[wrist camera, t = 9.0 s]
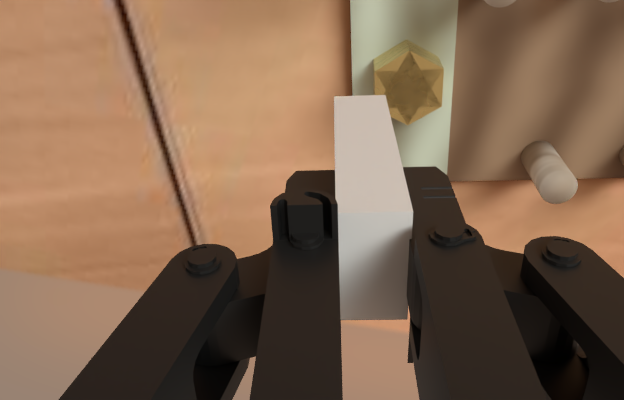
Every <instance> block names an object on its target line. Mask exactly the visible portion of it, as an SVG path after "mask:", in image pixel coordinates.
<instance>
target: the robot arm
mask: <svg viewBox="0 0 624 400" xmlns="http://www.w3.org/2000/svg"><path fill="white" fill-rule="evenodd" d="M334 132H335V170H318V171H296V172H295V173H294V174H293V175H292V176H291V177H290V178H289V179H288V180H287V183H286V190H285V193H282V194H280V195H279V196H278V197H276V198H275V199H274V200H273V201H272V203H271V205H270V209H271V220H272V232H273V246H271V247H270V248H268V249H267V250H265V251H263V252H261V253H259V254H256V255H253V256H249V257H245V258H240V259H237V258H236V256H235V253H234V252H233V251H232V250H230V249H229V248H227V247H225V246H221V245H217V244H202V245H197V246H193V247H190V248H188V249H185V250H183V251H181V252H179V253H178V254H177V255H176V256H175V257H174V258H172V259H171V261H170V262H169V263H168V264H167V266H166V267H165V268H164V269H163V271H162V272H161V273H160V274H159V276H158V277H157V278H156V279H155V280H154V282H153V283H152V284H151V285H150V287H149V288H148V289H147V290H146V292H145V293H144V294H143V296H142V297H141V298H140V299H139V300H138V302H137V303H136V304H135V305H134V307H133V308H132V309H131V310H130V312H129V313H128V314H127V315H126V317H125V318H124V319H123V320H122V322H121V323H120V324H119V325H118V326H117V328H116V329H115V330H114V331H113V333H112V334H111V335H110V336H109V338H108V339H107V340H106V341H105V343H104V344H103V345H102V346H101V348H100V349H99V350H98V352H97V353H96V354H95V355H94V356H93V358H92V359H91V360H90V361H89V363H88V364H87V365H86V367H85V368H84V369H83V370H82V371H81V373H80V374H79V375H78V376H77V378H76V379H75V380H74V381H73V383H72V384H71V385H70V386H69V387H68V389H67V390H66V391H65V392H64V394H63V395H62V396H61V397H60V399H59V400H232V399H233V397H234V395H235V393H236V390H237V388H238V386H239V384H240V382H241V380H242V378H243V376H244V374H245V372H246V370H247V368H248V364H249V359H250V358H251V357H255V356H256V361H255V368H254V374H253V381H252V388H251V394H250V400H342V399H343V398H342V363H341V362H342V360H341V320H397V319H407V315H408V306H409V312H410V332H409V348H408V363H413V362H414V368H415V375H416V380H417V387H418V392H419V399H420V400H624V278H623V277H622V276H621V275H620V274H618V273H617V272H616V271H615V270H614V269H613V268H612V267H611V266H609V265H608V264H607V263H606V262H605V261H604V260H603V259H602V258H601V257H599V256H598V255H597V254H596V253H595V252H594V251H593V250H591V249H590V248H588V247H587V246H585V245H584V244H582V243H579V242H577V241H574V240H571V239H569V238H564V237H556V236H550V237H540V238H537V239H533V240H531V241H530V242H529V243H528V244H527V245H525V250H524V254H520V253H515V252H509V251H504V250H499V249H495V248H492V247H490V246H487V245H485V244H484V241H483V239H482V236H481V235H480V234H479V232H478V231H477V230H476V229H474V228H473V227H471V226H469V225H468V224H466V223H465V220H464V217H463V215H462V212H461V210H460V207H459V204H458V202H457V199H456V198H455V194H454V191H453V189H452V186H451V183H450V180H449V178H448V176H447V175H446V174H445V173H444V172H442V171H441V170H440V169H439V168H437V167H436V166H430V167H403V166H402V162H401V158H400V154H399V150H398V146H397V141H396V137H395V133H394V129H393V125H392V120H391V116H390V112H389V108H388V104H387V99H386V95H364V96H334Z"/></svg>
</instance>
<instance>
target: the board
mask: <svg viewBox="0 0 624 400" xmlns="http://www.w3.org/2000/svg"><path fill="white" fill-rule="evenodd" d="M350 14H351V56H352V96H364V95H374V94H373V59H374V58H376V57H378V56H379V55H381V54H383V53H384V52H386V51H387V50H389V49H391V48H392V47H394V46H396V45H397V44H399V43H401V42H402V41H404V40H406V39H407V40H409V41H410V42H412V43H414V44H416V45H418V46H420V47H422V48H423V49H425V50H427V51H429V52H431V53H433V54H435V55H436V56H438V57H439V59H440V61H441V64H442V66H443V68H444V77H443V94H442V107H440V108H438V109H436V110H435V111H433V112H431V113H429V114H427V115H426V116H424V117H422V118H420V119H418V120H417V121H415V122H413V123H411V124H409V125H406V124H404V123H402V122H400V121H398V120H396V119H394V118H392V117H391V120H392V125H393V129H394V133H395V137H396V141H397V146H398V150H399V154H400V158H401V162H402V166H403V167H430V166H436V167H437V168H439V169H440V170H441V171H442V172H444V173H445V174H446V175H447V176H448V178H449V180H450V182H452V181H496V180H532V181H533V183H534V184H535V186H536V188H537V190H538V191H539V193H540V195H541V196H542V198H543V199H544V200H545V201H547V202H549V203H552V204H559V203H563V202H566V201H568V200H569V199H571V198H572V197H573V196H574V194H575V193H576V191H577V188H578V182H577V180H576V179H585V178H624V0H350Z"/></svg>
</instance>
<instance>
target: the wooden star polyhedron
mask: <svg viewBox="0 0 624 400" xmlns="http://www.w3.org/2000/svg"><path fill="white" fill-rule="evenodd" d="M443 77H444V68H443V66H442V64H441V61H440V59H439V57H438V56H436V55H435V54H433V53H431V52H429V51H427V50H425V49H423V48H422V47H420V46H418V45H416V44H414V43H412V42H410V41H409V40H407V39H406V40H404V41H402V42H401V43H399V44H397V45H396V46H394V47H392V48H391V49H389V50H387V51H386V52H384V53H383V54H381V55H379V56H378V57H376V58H374V59H373V94H374V95H386V99H387V104H388V108H389V112H390V116H391V117H392V118H394V119H396V120H398V121H400V122H402V123H404V124H406V125H409V124H411V123H413V122H415V121H417V120H418V119H420V118H422V117H424V116H426V115H427V114H429V113H431V112H433V111H435V110H436V109H438V108H440V107H442V94H443Z"/></svg>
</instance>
